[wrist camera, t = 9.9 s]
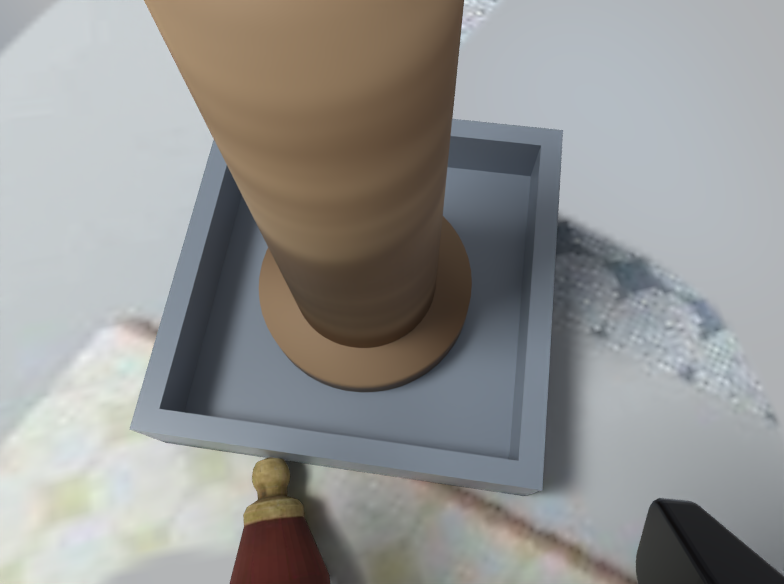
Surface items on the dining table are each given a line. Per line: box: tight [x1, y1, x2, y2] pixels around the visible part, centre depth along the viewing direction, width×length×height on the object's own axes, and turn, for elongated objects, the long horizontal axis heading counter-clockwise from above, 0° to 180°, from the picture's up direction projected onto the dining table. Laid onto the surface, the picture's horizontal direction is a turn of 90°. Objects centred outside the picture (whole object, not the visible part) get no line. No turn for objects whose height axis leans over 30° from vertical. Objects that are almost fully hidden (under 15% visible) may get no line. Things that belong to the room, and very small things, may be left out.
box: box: [130, 119, 563, 496], centre depth 18 cm, size 10×10×2 cm
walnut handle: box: [144, 0, 472, 392], centre depth 13 cm, size 6×6×12 cm
